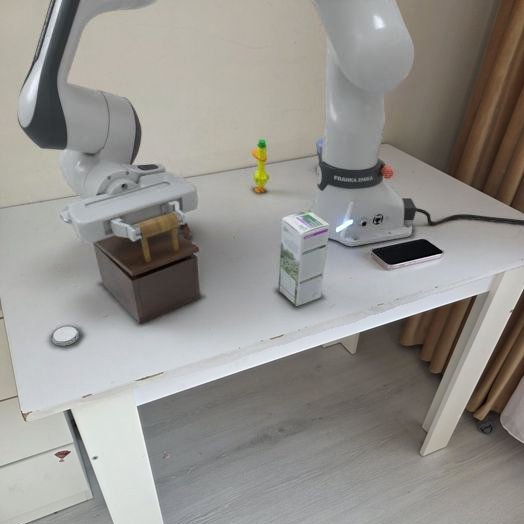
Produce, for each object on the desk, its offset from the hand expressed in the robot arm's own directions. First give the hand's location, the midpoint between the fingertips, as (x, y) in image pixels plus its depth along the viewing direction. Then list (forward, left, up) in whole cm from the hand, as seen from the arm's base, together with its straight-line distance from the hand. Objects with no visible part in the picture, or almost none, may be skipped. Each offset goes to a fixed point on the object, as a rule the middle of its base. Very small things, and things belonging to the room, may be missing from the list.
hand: (160, 228), depth 72 cm
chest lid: (+3, -5, -6) cm, 9 cm away
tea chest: (+3, -6, -15) cm, 17 cm away
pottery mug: (0, -26, -16) cm, 30 cm away
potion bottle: (-42, -54, -16) cm, 70 cm away
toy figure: (-22, -44, -16) cm, 51 cm away
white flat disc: (+16, +5, -15) cm, 23 cm away
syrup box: (-23, -2, -16) cm, 27 cm away
